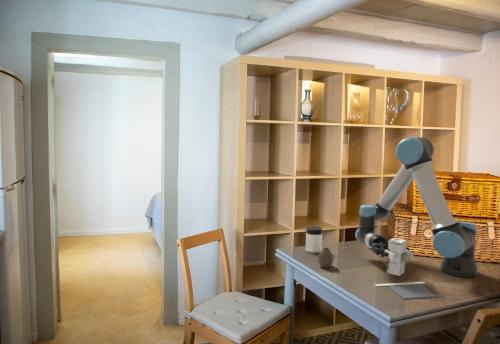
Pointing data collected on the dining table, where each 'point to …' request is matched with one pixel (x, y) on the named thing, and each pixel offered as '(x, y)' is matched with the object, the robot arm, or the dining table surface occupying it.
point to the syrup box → (396, 256)
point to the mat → (411, 291)
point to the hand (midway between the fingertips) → (402, 256)
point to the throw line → (400, 284)
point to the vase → (325, 258)
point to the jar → (313, 239)
